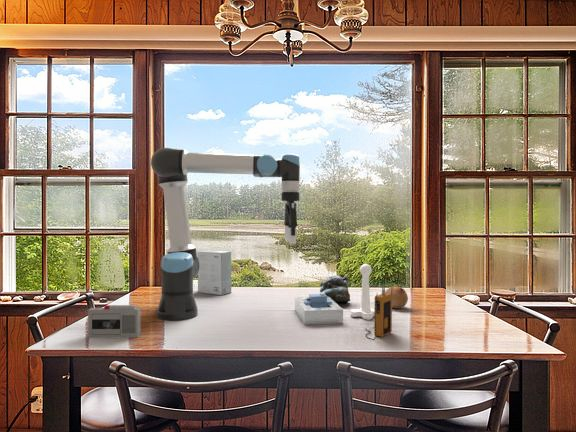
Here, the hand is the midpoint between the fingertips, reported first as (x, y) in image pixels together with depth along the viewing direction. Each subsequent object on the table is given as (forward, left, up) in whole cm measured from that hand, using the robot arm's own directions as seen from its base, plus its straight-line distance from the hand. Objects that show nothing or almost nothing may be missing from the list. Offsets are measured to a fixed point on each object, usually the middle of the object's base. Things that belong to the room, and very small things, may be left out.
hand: (290, 242), depth 179 cm
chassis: (+8, -18, -27) cm, 33 cm away
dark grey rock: (+19, +3, -27) cm, 33 cm away
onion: (+43, -9, -27) cm, 51 cm away
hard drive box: (-32, +32, -27) cm, 53 cm away
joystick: (+26, -22, -27) cm, 43 cm away
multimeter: (+22, -41, -27) cm, 54 cm away
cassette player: (-62, -34, -27) cm, 76 cm away
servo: (+8, -18, -27) cm, 33 cm away
